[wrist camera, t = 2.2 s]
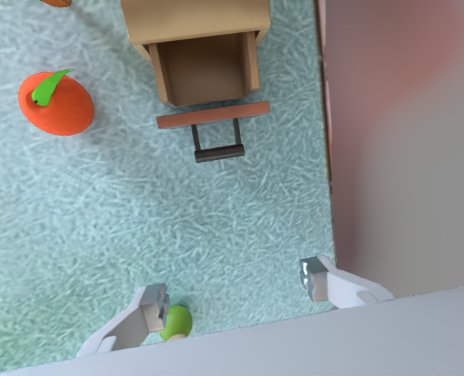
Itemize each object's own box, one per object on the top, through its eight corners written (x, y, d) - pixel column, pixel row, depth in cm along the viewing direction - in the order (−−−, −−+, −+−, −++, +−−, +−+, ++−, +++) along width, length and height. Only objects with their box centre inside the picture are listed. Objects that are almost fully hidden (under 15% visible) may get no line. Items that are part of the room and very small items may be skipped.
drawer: (259, 148, 32) (273, 154, 24) (177, 161, 31) (168, 170, 24) (243, -3, 27) (255, -51, 19) (144, 8, 26) (120, -38, 19)
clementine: (67, 60, 27) (19, 36, 20) (118, 96, 29) (89, 85, 22) (38, 113, 28) (-17, 108, 21) (88, 145, 30) (53, 149, 23)
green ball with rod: (203, 308, 39) (201, 383, 27) (176, 327, 39) (162, 409, 28) (184, 289, 37) (173, 360, 26) (155, 309, 38) (132, 388, 26)
